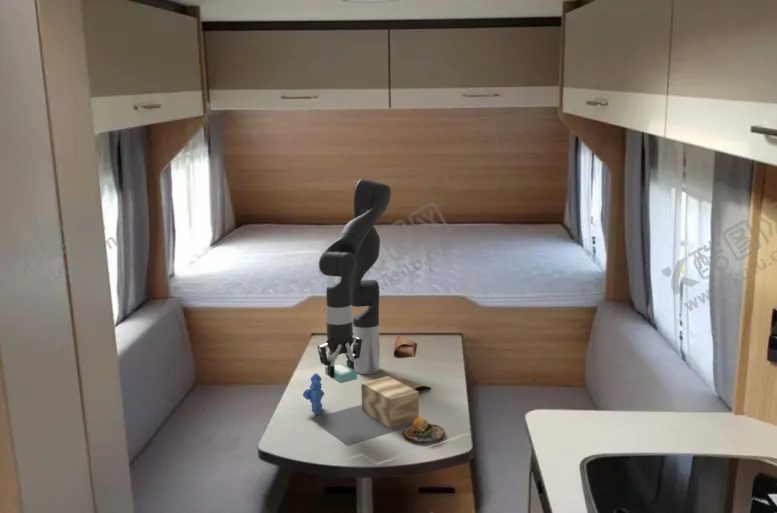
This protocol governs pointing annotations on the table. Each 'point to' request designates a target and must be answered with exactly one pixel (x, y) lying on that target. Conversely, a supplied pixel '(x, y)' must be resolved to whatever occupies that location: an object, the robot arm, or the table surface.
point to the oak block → (390, 401)
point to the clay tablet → (410, 383)
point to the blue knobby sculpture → (315, 394)
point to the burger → (423, 432)
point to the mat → (354, 425)
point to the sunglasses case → (404, 347)
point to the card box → (343, 373)
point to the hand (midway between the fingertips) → (340, 375)
